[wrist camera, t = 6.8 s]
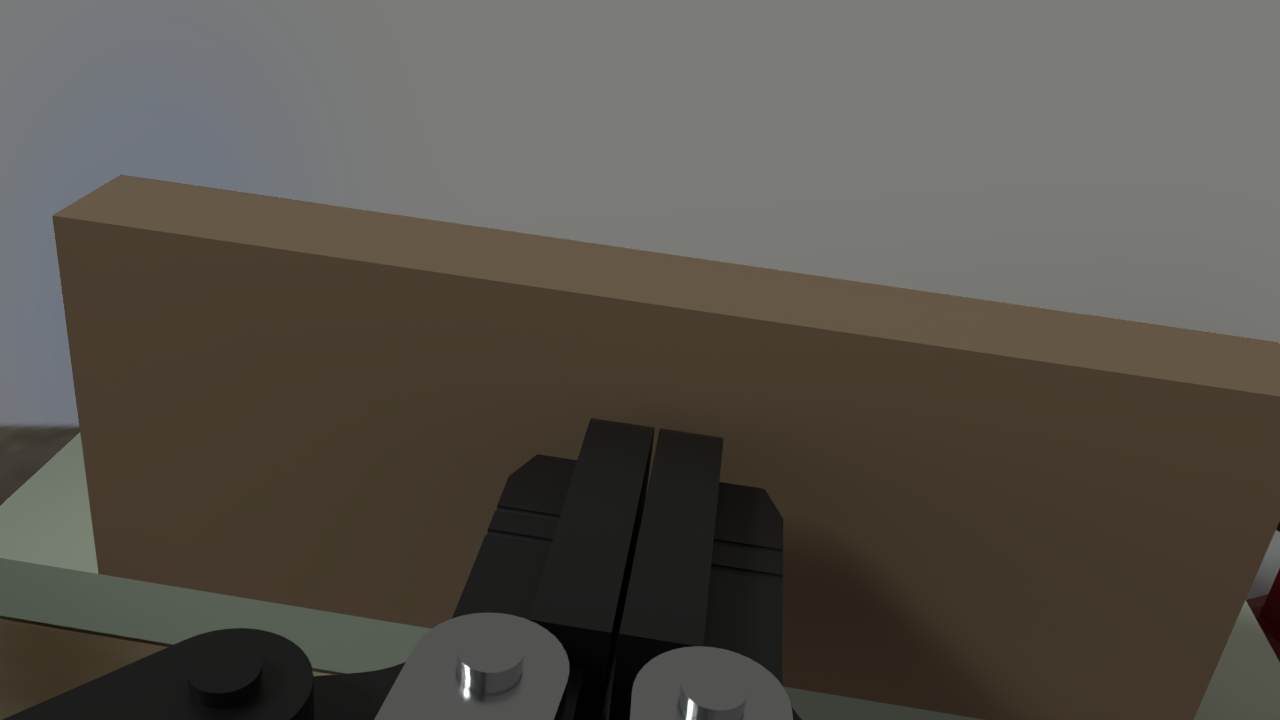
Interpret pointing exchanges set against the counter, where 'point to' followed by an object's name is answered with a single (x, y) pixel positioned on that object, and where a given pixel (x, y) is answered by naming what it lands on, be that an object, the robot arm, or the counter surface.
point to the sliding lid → (661, 398)
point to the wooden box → (62, 660)
